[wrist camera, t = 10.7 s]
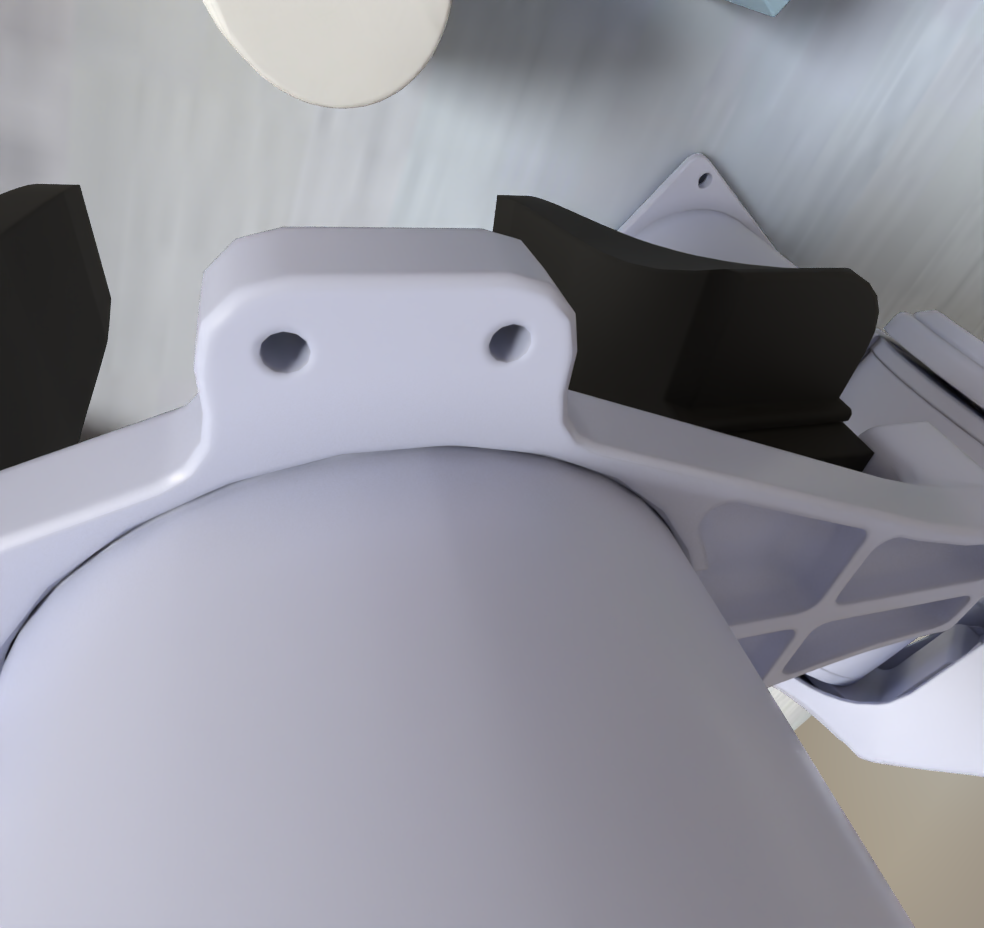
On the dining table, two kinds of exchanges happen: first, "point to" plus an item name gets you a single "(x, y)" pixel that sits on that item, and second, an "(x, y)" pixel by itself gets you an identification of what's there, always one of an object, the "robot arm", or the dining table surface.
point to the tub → (763, 5)
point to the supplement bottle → (334, 44)
